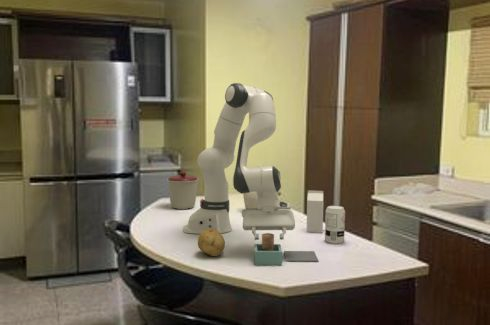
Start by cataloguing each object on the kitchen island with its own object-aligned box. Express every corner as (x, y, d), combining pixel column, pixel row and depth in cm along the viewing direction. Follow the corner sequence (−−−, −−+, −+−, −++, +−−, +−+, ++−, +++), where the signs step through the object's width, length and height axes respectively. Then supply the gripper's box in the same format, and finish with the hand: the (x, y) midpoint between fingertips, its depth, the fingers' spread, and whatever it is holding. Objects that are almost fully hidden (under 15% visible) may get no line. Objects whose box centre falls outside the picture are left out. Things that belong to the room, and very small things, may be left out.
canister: (197, 211, 267) (197, 173, 264) (164, 210, 267) (163, 173, 265) (200, 204, 285) (200, 169, 282) (169, 204, 285) (169, 168, 283)
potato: (216, 248, 197) (216, 224, 196) (228, 257, 186) (229, 232, 185) (192, 251, 193) (192, 227, 192) (204, 261, 182) (204, 234, 180)
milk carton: (321, 233, 223) (323, 192, 221) (306, 232, 224) (307, 191, 222) (322, 229, 230) (323, 189, 228) (307, 228, 231) (308, 189, 229)
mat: (286, 261, 181) (286, 260, 181) (284, 252, 193) (284, 250, 193) (318, 261, 181) (318, 260, 181) (314, 252, 193) (314, 251, 193)
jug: (276, 211, 269) (276, 166, 266) (262, 216, 256) (262, 169, 253) (252, 207, 277) (253, 164, 275) (237, 212, 264) (238, 167, 262)
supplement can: (322, 239, 213) (323, 205, 211) (341, 238, 214) (342, 205, 212) (327, 244, 205) (328, 209, 203) (346, 244, 206) (347, 209, 204)
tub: (254, 264, 177) (254, 251, 177) (254, 256, 187) (254, 243, 187) (281, 265, 177) (282, 251, 177) (280, 256, 187) (280, 244, 187)
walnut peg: (261, 262, 180) (262, 236, 179) (261, 258, 185) (261, 233, 184) (274, 262, 180) (274, 236, 179) (273, 258, 185) (273, 233, 184)
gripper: (241, 203, 189) (241, 234, 181) (294, 203, 189) (296, 234, 181) (241, 212, 194) (241, 243, 186) (292, 212, 194) (295, 242, 186)
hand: (269, 238), depth 183 cm, fingers open, 8 cm apart
